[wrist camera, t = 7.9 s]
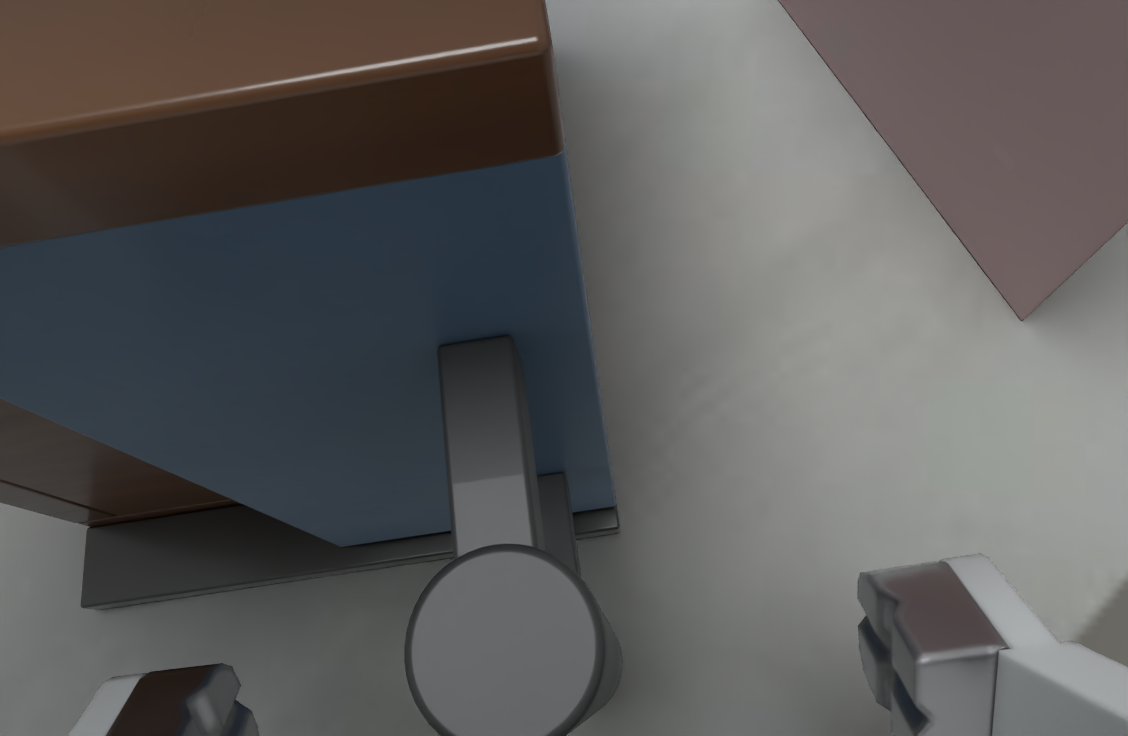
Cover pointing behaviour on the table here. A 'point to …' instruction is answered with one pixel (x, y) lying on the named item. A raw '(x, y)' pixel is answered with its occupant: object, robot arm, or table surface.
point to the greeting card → (996, 119)
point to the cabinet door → (364, 402)
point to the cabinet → (232, 181)
